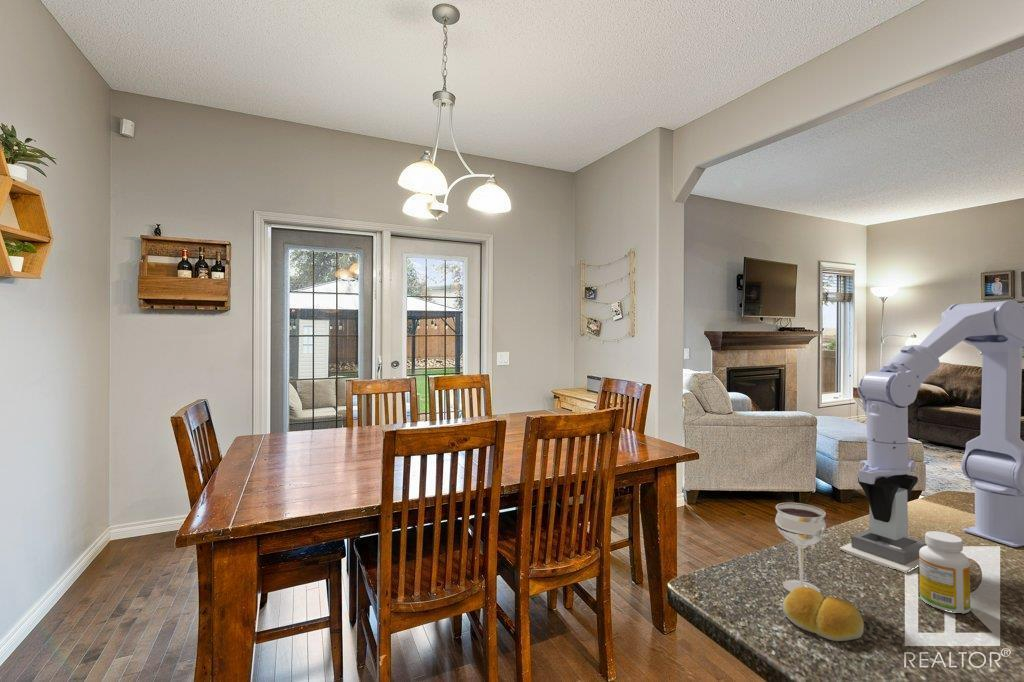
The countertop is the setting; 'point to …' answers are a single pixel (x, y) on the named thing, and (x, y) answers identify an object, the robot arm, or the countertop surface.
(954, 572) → the supplement bottle
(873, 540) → the dock
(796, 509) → the wineglass
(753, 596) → the countertop surface
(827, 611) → the bread roll
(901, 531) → the block
